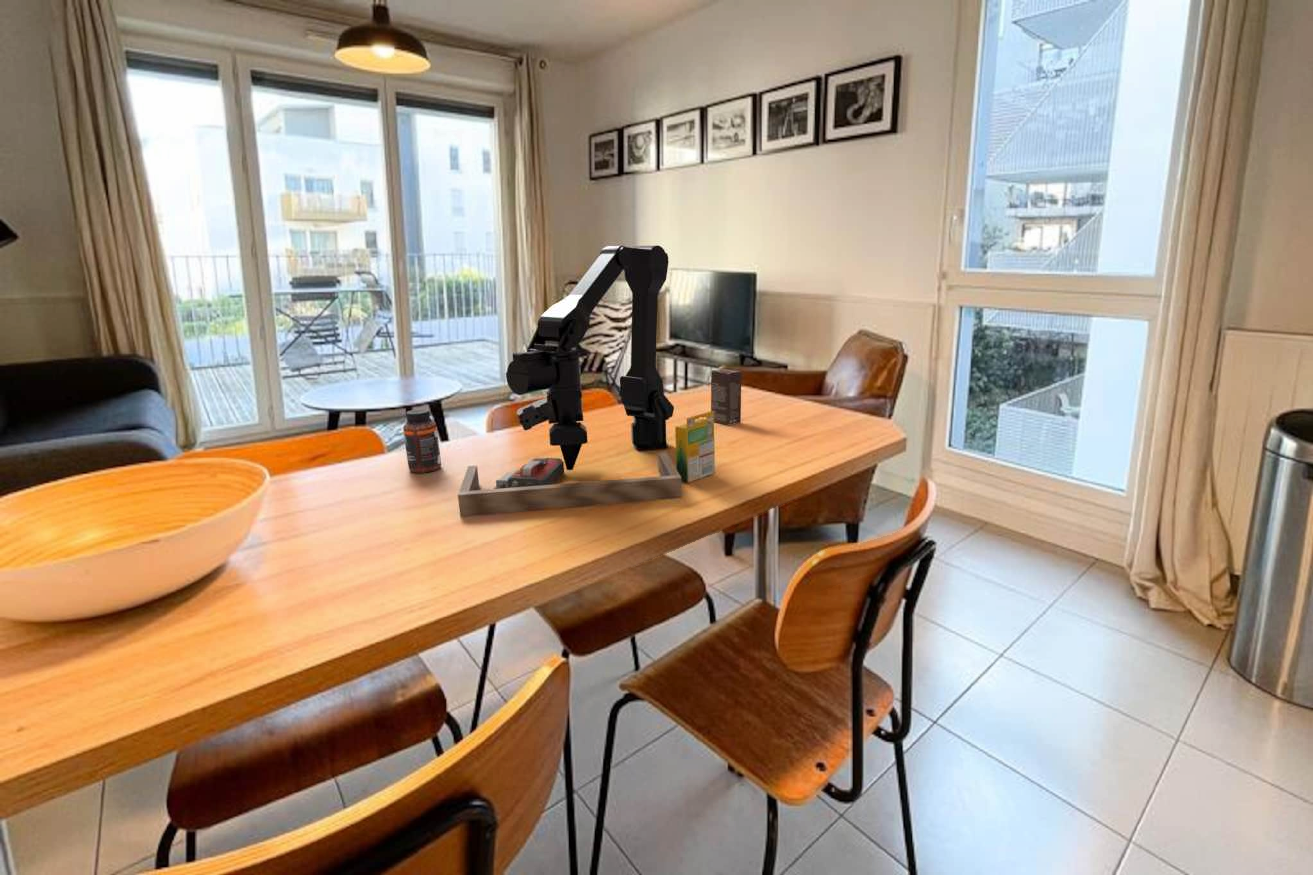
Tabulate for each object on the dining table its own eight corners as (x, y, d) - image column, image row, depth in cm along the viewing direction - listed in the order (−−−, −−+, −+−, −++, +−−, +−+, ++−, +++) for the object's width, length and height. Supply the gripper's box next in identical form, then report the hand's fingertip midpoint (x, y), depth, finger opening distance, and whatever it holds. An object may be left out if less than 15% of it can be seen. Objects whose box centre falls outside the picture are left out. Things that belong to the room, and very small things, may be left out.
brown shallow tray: (666, 470, 123) (666, 452, 122) (681, 498, 109) (681, 477, 108) (470, 485, 118) (468, 466, 117) (460, 516, 104) (457, 495, 103)
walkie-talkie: (524, 470, 126) (475, 510, 107) (522, 448, 125) (473, 484, 106) (568, 472, 124) (527, 513, 105) (567, 449, 123) (525, 486, 104)
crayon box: (703, 469, 122) (702, 408, 119) (715, 473, 120) (715, 410, 117) (675, 479, 118) (674, 415, 114) (688, 483, 115) (687, 418, 112)
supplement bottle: (448, 466, 128) (441, 408, 125) (426, 475, 123) (418, 416, 120) (424, 462, 131) (417, 406, 128) (401, 471, 126) (393, 413, 123)
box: (742, 422, 155) (742, 370, 151) (728, 426, 152) (728, 373, 149) (723, 417, 159) (723, 367, 156) (709, 421, 156) (709, 370, 153)
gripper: (519, 377, 125) (526, 457, 129) (515, 398, 107) (522, 490, 111) (579, 374, 126) (584, 453, 131) (585, 394, 109) (590, 485, 113)
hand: (569, 469), depth 121 cm, fingers closed
